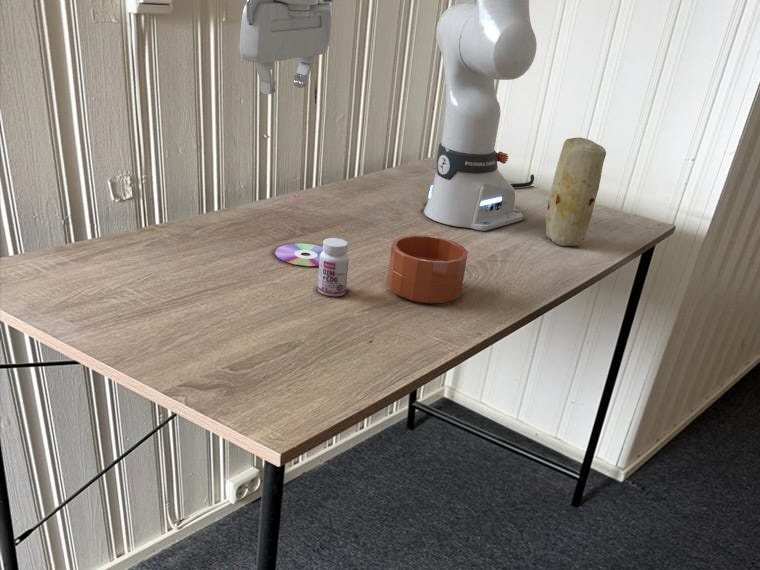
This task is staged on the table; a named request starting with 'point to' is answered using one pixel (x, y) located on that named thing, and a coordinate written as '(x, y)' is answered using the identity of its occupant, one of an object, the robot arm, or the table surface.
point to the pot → (426, 268)
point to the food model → (574, 191)
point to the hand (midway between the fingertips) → (284, 90)
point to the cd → (294, 251)
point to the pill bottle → (333, 267)
